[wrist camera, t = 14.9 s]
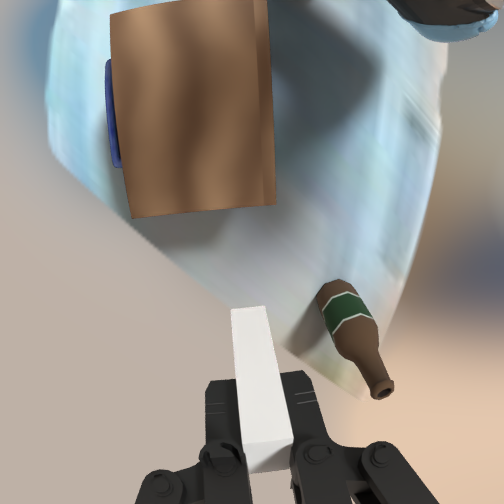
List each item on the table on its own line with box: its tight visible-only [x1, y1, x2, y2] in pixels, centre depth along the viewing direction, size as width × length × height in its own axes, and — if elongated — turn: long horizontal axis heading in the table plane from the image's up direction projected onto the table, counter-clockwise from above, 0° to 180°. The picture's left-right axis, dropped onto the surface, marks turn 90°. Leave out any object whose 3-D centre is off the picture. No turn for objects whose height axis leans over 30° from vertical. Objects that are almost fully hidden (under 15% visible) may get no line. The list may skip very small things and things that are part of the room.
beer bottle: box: [316, 279, 394, 400], centre depth 47 cm, size 8×8×24 cm
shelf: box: [110, 0, 276, 219], centre depth 32 cm, size 14×21×17 cm
